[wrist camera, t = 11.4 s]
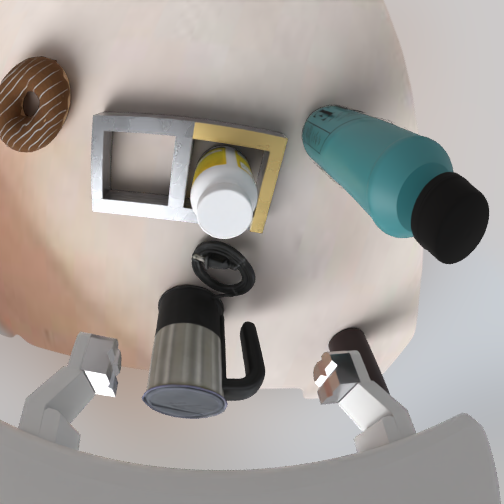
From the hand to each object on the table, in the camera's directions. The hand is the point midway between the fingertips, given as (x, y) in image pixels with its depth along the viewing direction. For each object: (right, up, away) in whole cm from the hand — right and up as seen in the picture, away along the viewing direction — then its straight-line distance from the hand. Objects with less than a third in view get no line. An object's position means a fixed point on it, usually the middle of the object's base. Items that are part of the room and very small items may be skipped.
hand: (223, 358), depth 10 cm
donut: (-22, +20, +10) cm, 31 cm away
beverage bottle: (+9, +16, +16) cm, 24 cm away
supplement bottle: (-2, +12, +17) cm, 21 cm away
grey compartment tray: (-6, +13, +16) cm, 22 cm away
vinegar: (+18, -12, +37) cm, 42 cm away
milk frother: (-6, -1, +26) cm, 27 cm away
